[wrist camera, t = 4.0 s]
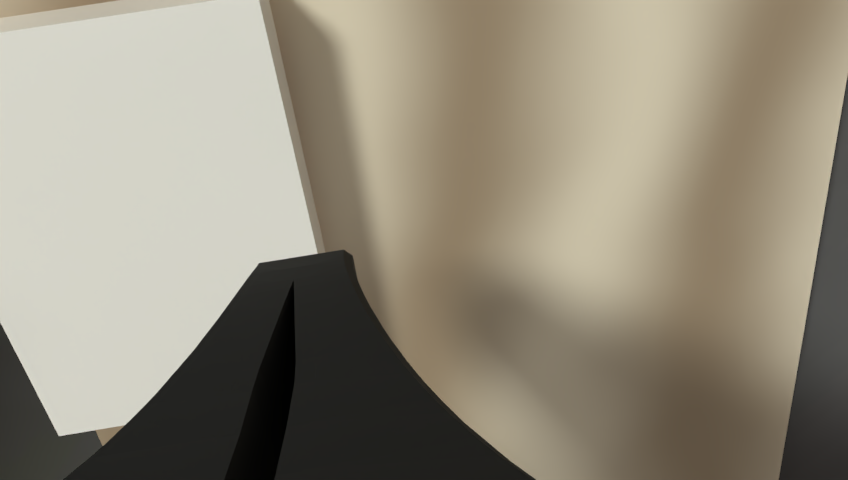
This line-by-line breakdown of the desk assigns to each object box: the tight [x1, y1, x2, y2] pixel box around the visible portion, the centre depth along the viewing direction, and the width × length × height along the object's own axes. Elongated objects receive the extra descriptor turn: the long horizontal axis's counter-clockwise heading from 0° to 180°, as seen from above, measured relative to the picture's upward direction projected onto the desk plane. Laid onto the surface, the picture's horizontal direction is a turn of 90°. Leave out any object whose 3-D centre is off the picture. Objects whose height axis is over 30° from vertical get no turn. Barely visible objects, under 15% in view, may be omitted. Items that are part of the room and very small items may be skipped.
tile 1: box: [0, 0, 325, 436], centre depth 14 cm, size 2×8×6 cm
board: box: [0, 0, 848, 480], centre depth 17 cm, size 17×22×1 cm
